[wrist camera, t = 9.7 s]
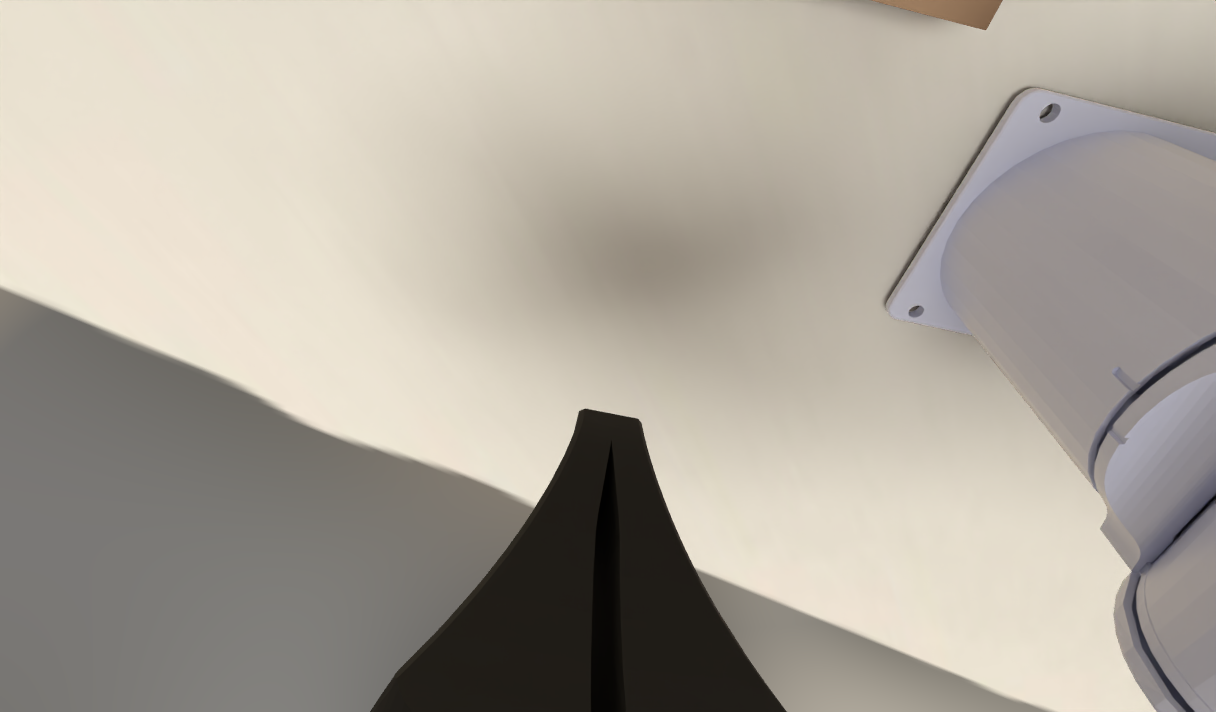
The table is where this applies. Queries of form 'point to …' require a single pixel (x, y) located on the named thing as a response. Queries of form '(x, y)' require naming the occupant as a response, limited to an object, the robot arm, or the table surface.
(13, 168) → the table surface
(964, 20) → the guide rails
